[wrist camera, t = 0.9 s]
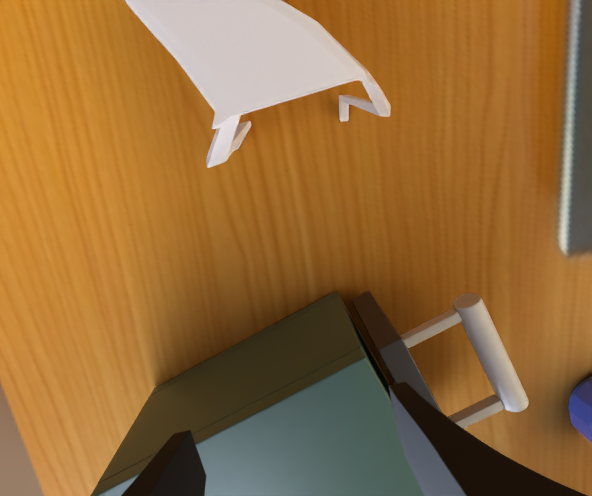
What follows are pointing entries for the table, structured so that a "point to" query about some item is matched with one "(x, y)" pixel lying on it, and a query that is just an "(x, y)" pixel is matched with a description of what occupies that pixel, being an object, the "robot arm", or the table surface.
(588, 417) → the blue cup
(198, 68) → the origami figure
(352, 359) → the sage green box
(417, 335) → the drawer
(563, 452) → the table surface
